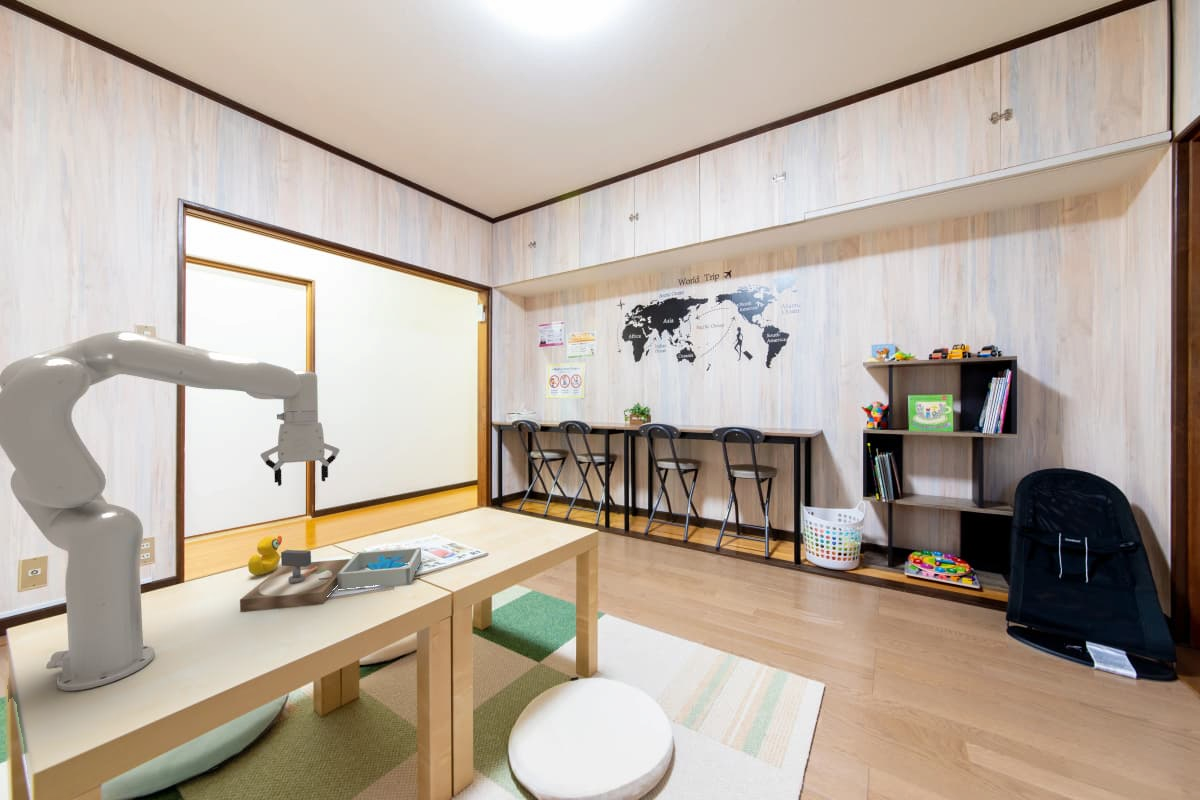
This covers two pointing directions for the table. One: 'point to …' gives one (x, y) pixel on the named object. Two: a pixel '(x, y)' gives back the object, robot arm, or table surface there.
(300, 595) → the board
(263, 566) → the duckling
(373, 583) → the toy tray
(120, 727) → the table surface
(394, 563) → the toy airplane
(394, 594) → the table surface
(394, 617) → the table surface
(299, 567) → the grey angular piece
